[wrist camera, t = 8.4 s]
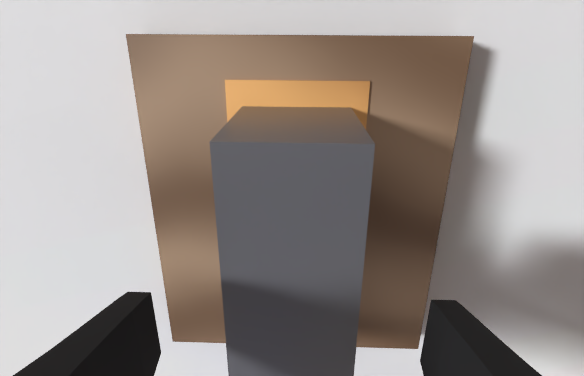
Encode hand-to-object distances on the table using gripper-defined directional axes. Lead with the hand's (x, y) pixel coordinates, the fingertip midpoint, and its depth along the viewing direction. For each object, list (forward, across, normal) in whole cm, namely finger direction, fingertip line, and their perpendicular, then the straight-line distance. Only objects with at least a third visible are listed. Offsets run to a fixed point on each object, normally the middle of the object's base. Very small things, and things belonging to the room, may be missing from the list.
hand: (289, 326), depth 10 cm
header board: (+8, 0, 0) cm, 8 cm away
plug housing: (+6, 0, 0) cm, 6 cm away
